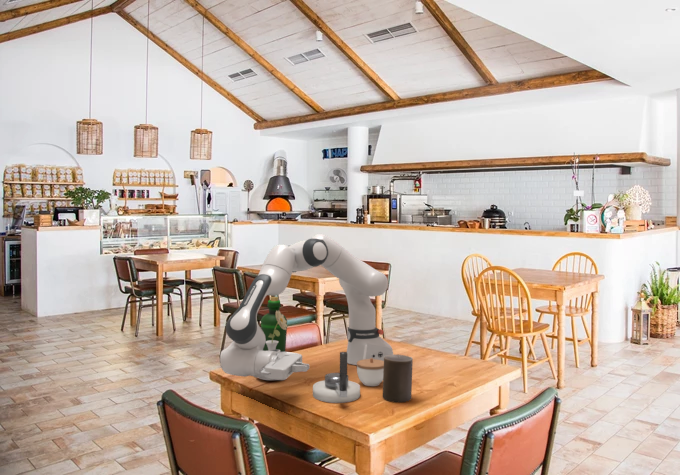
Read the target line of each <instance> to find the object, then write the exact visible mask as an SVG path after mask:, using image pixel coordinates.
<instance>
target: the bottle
mask: <svg viewBox="0 0 680 475" xmlns="http://www.w3.org/2000/svg"><path fill="white" fill-rule="evenodd" d="M281 304H282V303H281V300H280V299H279V296H270V299H269V300H268V301H267V305H266V306H267V307H268V313H266V314H264V315H263V316H262V317H261V319H260V328H261V329H262V331H263V332H264V334H265V337H266V341H269V340H272V338H270V337H268V336H269V334H270V333H271V334H272V335H273V333H274V329H275V327H276V324H277V322H278V321H277V319H276V315H275V314H276V311H280V308H281V307H282V305H281ZM282 314H283V313H281V315H282ZM284 318H285V320H286V321H287V323H286V324H287V325H288V319H287V317H286V316H285V315H284ZM286 329H287V330H288V327H286ZM286 329H285V330H284V329H283V328H281V327H280V325H279V324H278V325H277V327H276V329H275V330H278V331H279V332H280V336H278V337H277V336H276V335H275V333H274V335H275V337H273V340H276V341H279V342H278V344H277V345H276V349H277V350H280V352H286V349H287V348H286V346H287V345H286V344H287V330H286ZM276 349H275V350H276ZM263 351H268V347H267V344H266V343H265V346H264V349H263Z"/></svg>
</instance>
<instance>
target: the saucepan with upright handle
mask: <svg viewBox="0 0 680 475" xmlns="http://www.w3.org/2000/svg"><path fill="white" fill-rule="evenodd" d="M324 380H325V386H326V387H329V388H335V389H336V391H337V393H338V395H339V397H347V386H348V381H349V375H348V363H347V351H340V352H339V372H330V373H327V374H325V375H324Z"/></svg>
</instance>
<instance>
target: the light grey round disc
mask: <svg viewBox="0 0 680 475" xmlns="http://www.w3.org/2000/svg"><path fill="white" fill-rule="evenodd" d="M312 397H313V398H314V399H316V400H317V401H321V402H325V403H332V404H341V403H343V404H345V403H350V402H353V401H357V400H358V399H360V397H361V385H360V384H359V383H357V382H355V381H351V380H348V386H347V397H339V395H338V393H337V391H336V389H335V388H329V387H326V386H325V379H324V380H320V381H317V382H315V383H313V385H312Z"/></svg>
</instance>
